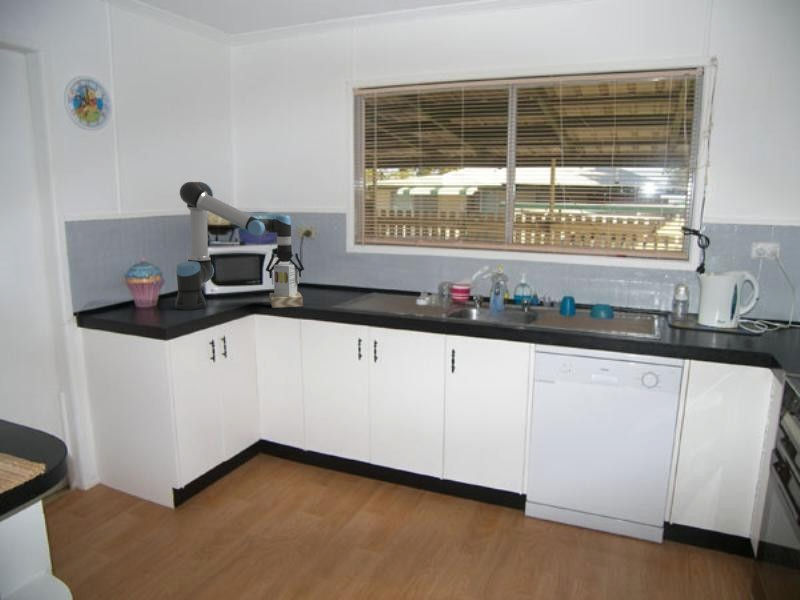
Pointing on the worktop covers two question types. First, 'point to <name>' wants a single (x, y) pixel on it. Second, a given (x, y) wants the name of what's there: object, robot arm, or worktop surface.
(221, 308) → the worktop surface
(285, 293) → the supplement box
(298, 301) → the block
